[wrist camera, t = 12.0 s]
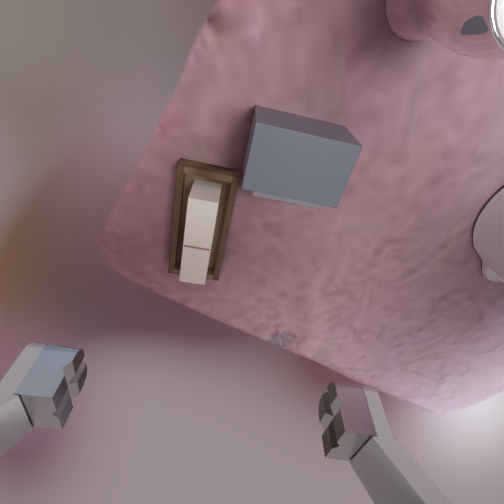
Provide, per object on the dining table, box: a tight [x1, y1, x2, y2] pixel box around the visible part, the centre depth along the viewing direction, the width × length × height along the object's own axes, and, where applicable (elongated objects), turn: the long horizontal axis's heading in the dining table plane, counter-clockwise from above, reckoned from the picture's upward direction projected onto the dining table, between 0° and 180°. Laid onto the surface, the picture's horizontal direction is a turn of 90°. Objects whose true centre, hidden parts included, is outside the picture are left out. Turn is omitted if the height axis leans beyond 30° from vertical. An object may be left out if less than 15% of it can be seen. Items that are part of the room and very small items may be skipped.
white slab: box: [179, 179, 222, 285], centre depth 36 cm, size 3×11×5 cm, turn 168°
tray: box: [168, 158, 240, 280], centre depth 38 cm, size 6×14×2 cm, turn 168°
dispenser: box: [242, 105, 362, 209], centre depth 31 cm, size 9×7×6 cm
